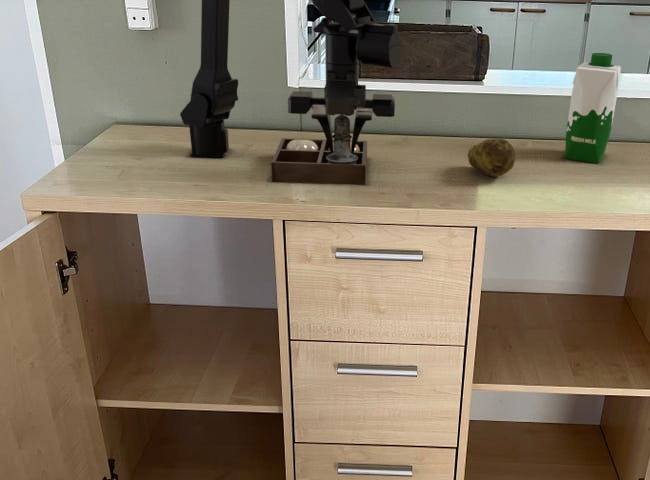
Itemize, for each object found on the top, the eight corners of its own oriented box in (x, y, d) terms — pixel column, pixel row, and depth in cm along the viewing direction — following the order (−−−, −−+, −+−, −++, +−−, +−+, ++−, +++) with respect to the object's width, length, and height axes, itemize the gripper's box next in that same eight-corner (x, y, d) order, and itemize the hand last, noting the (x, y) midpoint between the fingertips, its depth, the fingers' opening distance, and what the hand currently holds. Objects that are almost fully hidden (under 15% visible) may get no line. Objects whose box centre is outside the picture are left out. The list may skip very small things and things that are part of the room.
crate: (272, 181, 137) (271, 162, 136) (282, 155, 152) (281, 138, 150) (365, 184, 138) (365, 165, 136) (366, 158, 153) (367, 140, 151)
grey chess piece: (360, 172, 144) (360, 107, 138) (355, 182, 139) (356, 115, 133) (329, 170, 144) (328, 105, 138) (323, 180, 139) (322, 113, 133)
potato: (507, 168, 150) (512, 127, 146) (514, 188, 139) (519, 144, 135) (465, 166, 150) (469, 125, 146) (469, 186, 139) (473, 142, 135)
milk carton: (608, 154, 162) (626, 55, 152) (601, 165, 154) (619, 61, 144) (567, 149, 164) (582, 50, 154) (559, 159, 157) (574, 56, 147)
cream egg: (284, 165, 146) (284, 142, 144) (287, 159, 150) (286, 136, 148) (318, 166, 147) (317, 143, 144) (319, 160, 150) (319, 137, 148)
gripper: (282, 68, 124) (286, 163, 132) (396, 72, 125) (393, 166, 133) (289, 57, 134) (292, 146, 142) (395, 61, 134) (392, 149, 142)
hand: (342, 152), depth 139 cm, fingers closed on grey chess piece, 3 cm apart
